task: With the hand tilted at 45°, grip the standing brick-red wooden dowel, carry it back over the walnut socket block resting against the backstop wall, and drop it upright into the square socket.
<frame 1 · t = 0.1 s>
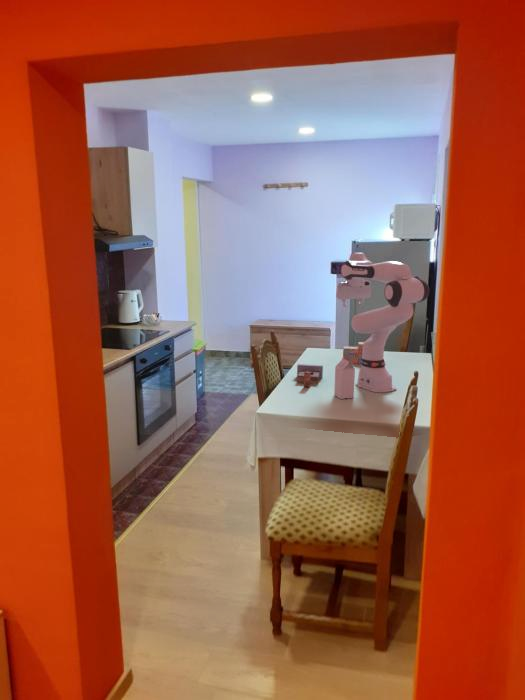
hand: (352, 306, 319), 39 cm above the table, tool pointing down, fingers open, 8 cm apart
dowel: (307, 387, 300), on the table
backstop wall: (309, 377, 319), on the table
milk carton: (343, 397, 284), on the table
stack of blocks: (360, 362, 354), on the table
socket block: (308, 381, 312), on the table
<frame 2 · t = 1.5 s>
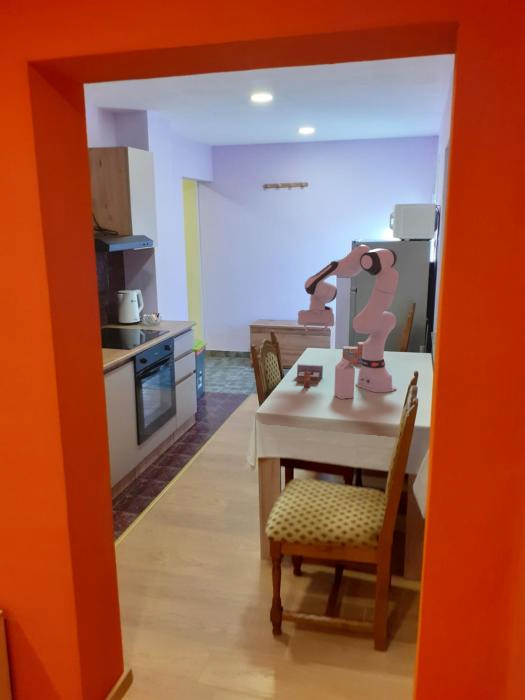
hand: (315, 331, 313), 26 cm above the table, tool tilted 45°, fingers open, 8 cm apart
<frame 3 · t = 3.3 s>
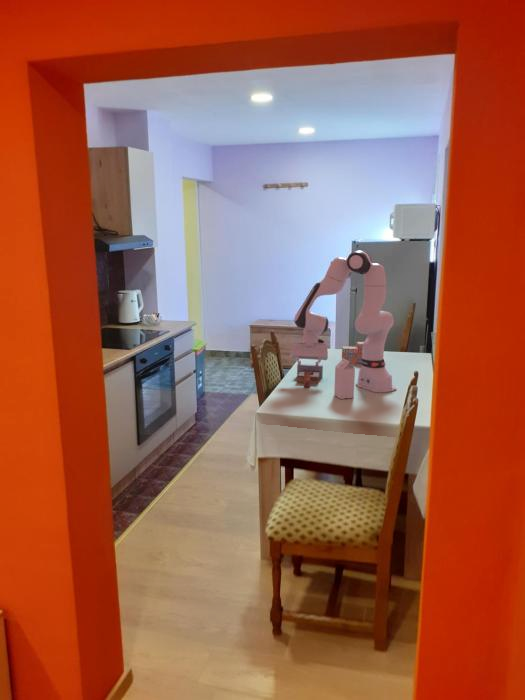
hand: (308, 365, 305), 10 cm above the table, tool tilted 45°, fingers open, 8 cm apart
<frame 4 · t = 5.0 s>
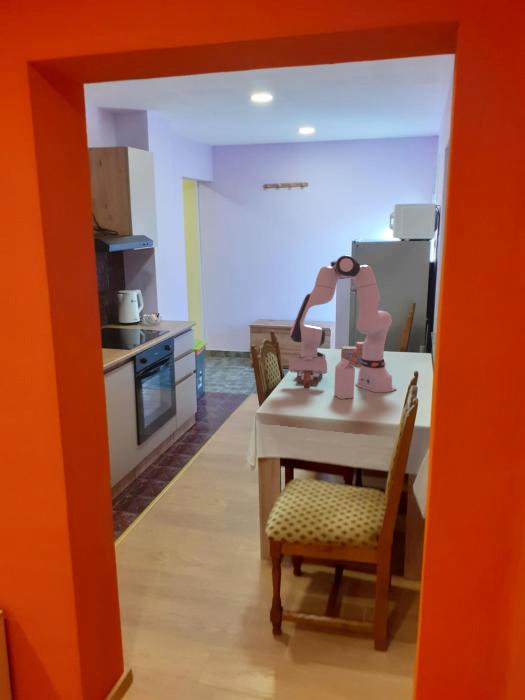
hand: (307, 379, 298), 4 cm above the table, tool tilted 45°, fingers closed on dowel, 3 cm apart
dowel: (307, 387, 300), on the table, touching gripper
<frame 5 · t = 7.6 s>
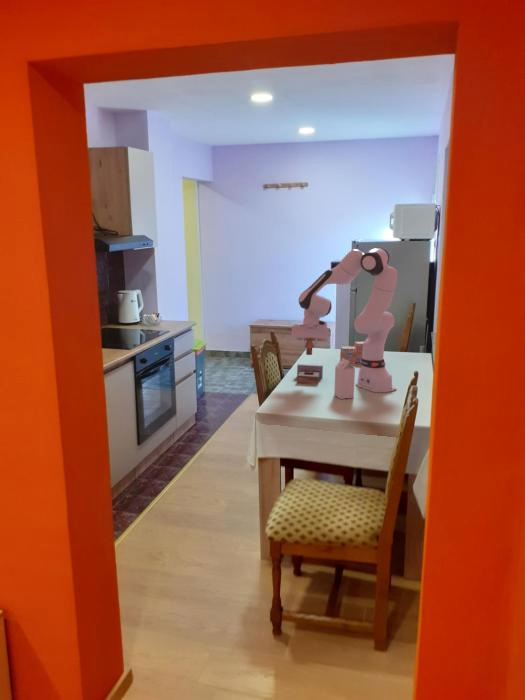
hand: (309, 346, 306), 20 cm above the table, tool tilted 45°, fingers closed on dowel, 3 cm apart
dowel: (309, 354, 307), point 15 cm above the table, touching gripper
when the fingers open (7 cm above the table, at t = 10.3 s): dowel drops 3 cm, resting on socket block.
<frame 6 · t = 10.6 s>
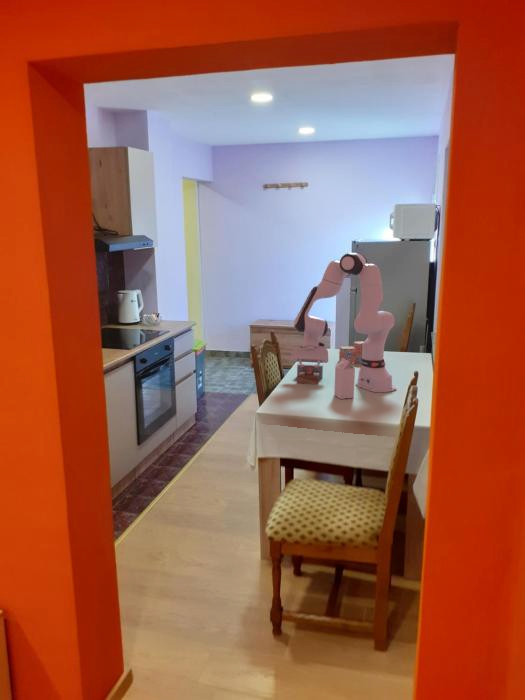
hand: (309, 368, 309), 7 cm above the table, tool tilted 45°, fingers open, 6 cm apart
dowel: (309, 380, 312), resting on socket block
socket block: (308, 381, 312), on the table, touching dowel
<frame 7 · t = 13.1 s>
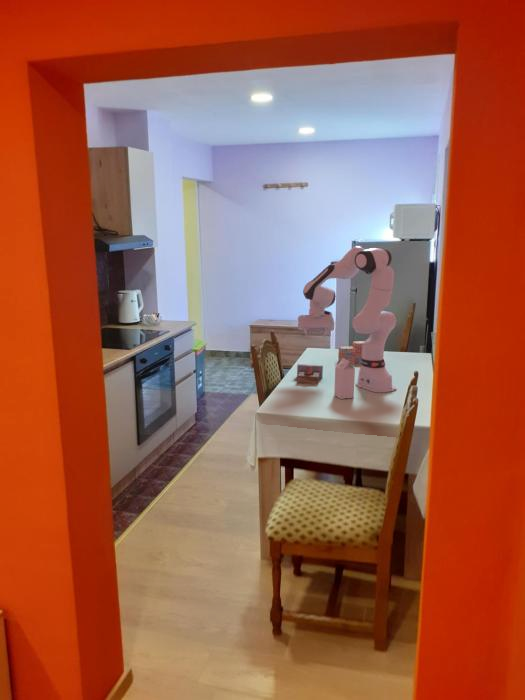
hand: (315, 335, 316), 23 cm above the table, tool tilted 45°, fingers open, 8 cm apart
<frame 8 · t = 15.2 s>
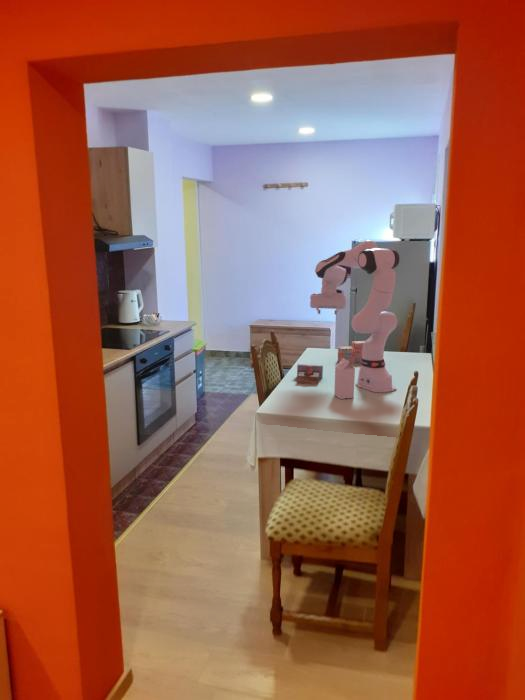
hand: (327, 313, 321), 34 cm above the table, tool tilted 45°, fingers open, 8 cm apart
at the end: dowel 0.2 cm off-centre on the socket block, point 0.8 cm above the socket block's base; dowel tilted 0°; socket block moved 0.5 cm from its start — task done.
